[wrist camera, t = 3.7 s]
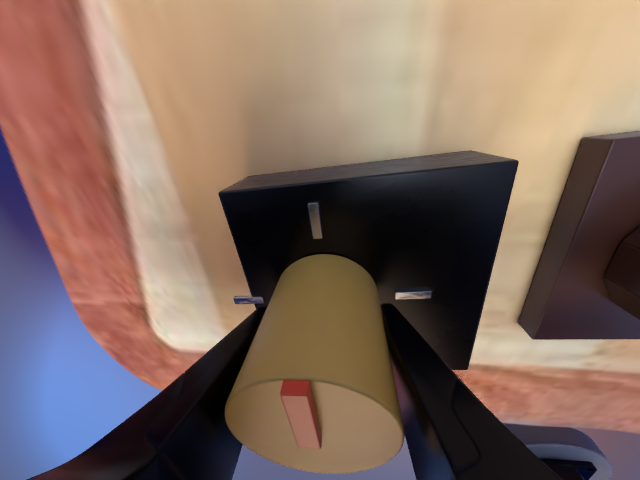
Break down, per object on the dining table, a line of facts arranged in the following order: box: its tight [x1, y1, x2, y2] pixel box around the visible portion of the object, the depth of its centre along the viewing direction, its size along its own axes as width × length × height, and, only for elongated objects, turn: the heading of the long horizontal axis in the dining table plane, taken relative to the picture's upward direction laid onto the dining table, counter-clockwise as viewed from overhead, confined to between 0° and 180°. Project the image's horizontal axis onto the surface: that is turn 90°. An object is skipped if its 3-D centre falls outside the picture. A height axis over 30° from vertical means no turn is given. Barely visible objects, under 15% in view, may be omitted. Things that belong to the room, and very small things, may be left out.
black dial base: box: [219, 151, 518, 370], centre depth 11 cm, size 10×11×3 cm
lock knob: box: [225, 254, 405, 474], centre depth 8 cm, size 4×4×5 cm
